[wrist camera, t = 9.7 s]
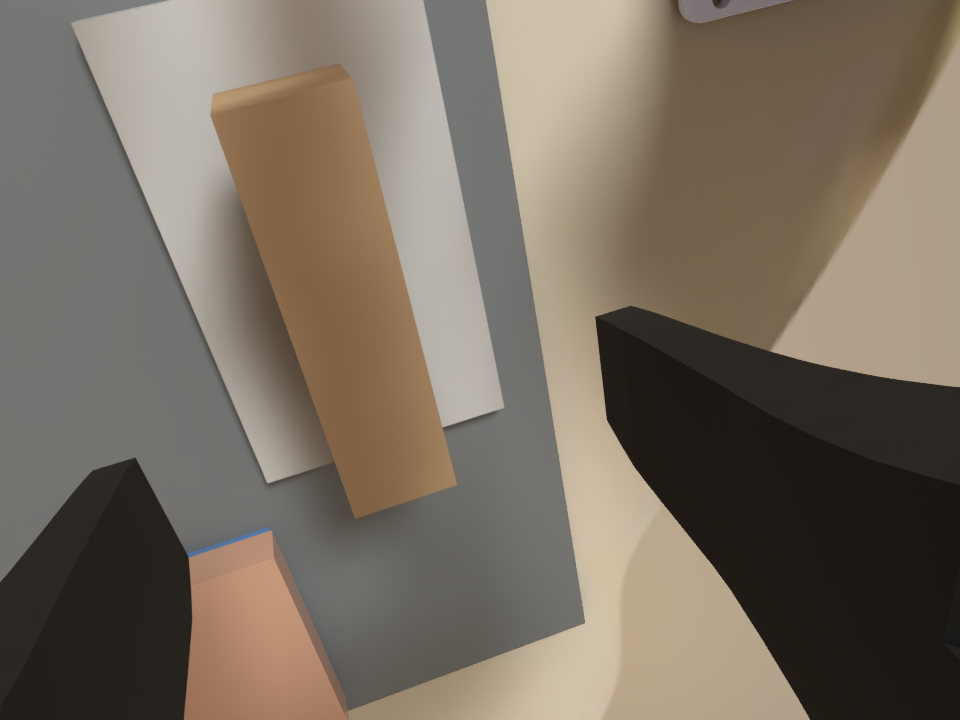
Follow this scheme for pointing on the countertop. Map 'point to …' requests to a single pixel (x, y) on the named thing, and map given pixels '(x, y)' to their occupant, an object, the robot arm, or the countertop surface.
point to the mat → (209, 408)
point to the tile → (255, 639)
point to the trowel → (311, 225)
